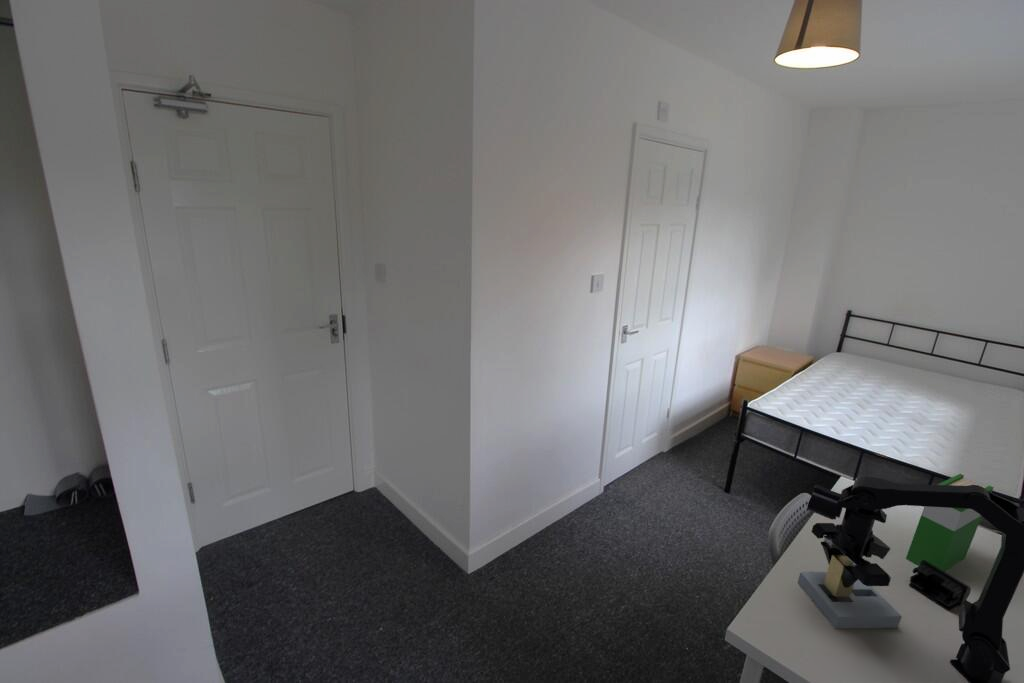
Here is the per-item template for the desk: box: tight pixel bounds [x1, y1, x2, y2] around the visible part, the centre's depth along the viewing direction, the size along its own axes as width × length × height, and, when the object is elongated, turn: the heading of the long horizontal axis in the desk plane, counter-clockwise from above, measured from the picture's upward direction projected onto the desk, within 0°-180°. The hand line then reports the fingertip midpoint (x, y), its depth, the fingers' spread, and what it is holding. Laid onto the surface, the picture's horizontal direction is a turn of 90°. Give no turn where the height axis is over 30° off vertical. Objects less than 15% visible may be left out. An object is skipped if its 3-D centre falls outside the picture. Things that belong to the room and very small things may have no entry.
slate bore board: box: [797, 571, 902, 629], centre depth 119 cm, size 14×16×4 cm
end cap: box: [908, 560, 972, 612], centre depth 123 cm, size 10×7×7 cm
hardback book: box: [905, 473, 994, 572], centre depth 134 cm, size 18×7×24 cm, turn 117°
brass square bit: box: [824, 555, 854, 598], centre depth 117 cm, size 4×4×9 cm
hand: (839, 580), depth 117 cm, fingers closed on brass square bit, 4 cm apart
